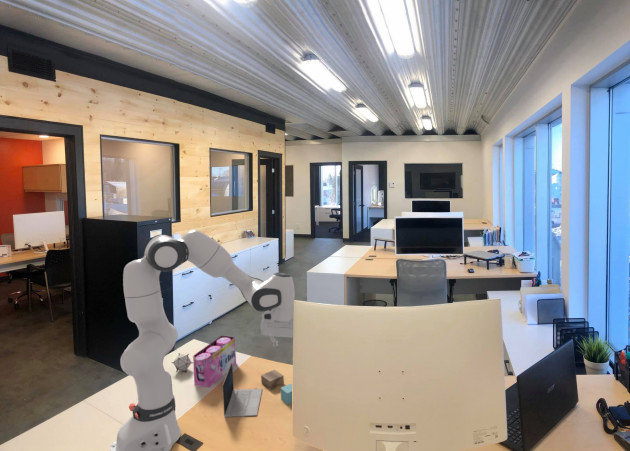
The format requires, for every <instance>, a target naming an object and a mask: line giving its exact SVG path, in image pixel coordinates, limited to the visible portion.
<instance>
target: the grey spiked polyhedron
mask: <svg viewBox="0 0 630 451" xmlns="http://www.w3.org/2000/svg"><path fill="white" fill-rule="evenodd" d="M189 354H190V353H187V354H181V353H180V352H179V353H178V356H176V358H175V359H174V360H173V361H172V362H171V364H173V365H174V367H175V368H176V372H177V373H178V371H181V372H185V373H187V370H188V369H189V367H190V366H191V364H193V361H191V359H190V357H189Z"/></svg>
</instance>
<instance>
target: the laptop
mask: <svg viewBox="0 0 630 451" xmlns="http://www.w3.org/2000/svg"><path fill="white" fill-rule="evenodd" d="M233 373H234V372H233V367H232V363H231V365H230V368H229V370H228V371H227V372H226V375H225V378H224V381H223V383H222V386H221V389H222V390H221V391H222V402H223V403H222V406H223V416H224V418H231V417H232V418H238V417H239V418H240V417H252V416H258V412H259V406H260V402H261V397H262V392H263V388H244V389H235V388H234V387H235V386H234V375H233Z"/></svg>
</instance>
